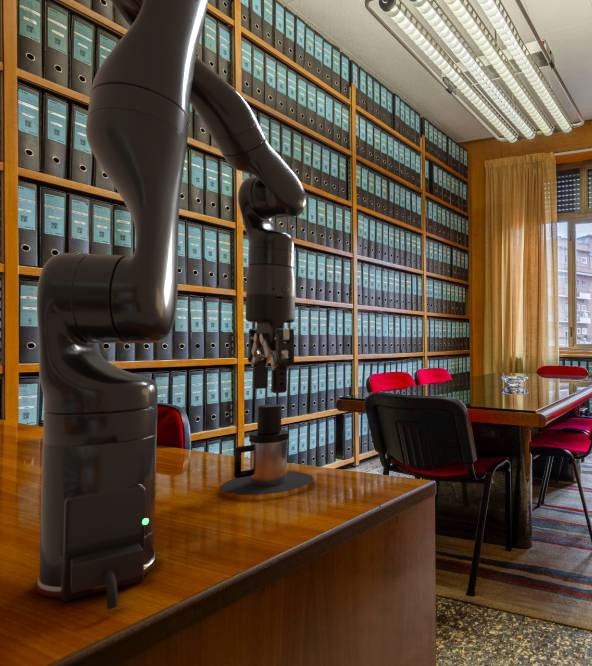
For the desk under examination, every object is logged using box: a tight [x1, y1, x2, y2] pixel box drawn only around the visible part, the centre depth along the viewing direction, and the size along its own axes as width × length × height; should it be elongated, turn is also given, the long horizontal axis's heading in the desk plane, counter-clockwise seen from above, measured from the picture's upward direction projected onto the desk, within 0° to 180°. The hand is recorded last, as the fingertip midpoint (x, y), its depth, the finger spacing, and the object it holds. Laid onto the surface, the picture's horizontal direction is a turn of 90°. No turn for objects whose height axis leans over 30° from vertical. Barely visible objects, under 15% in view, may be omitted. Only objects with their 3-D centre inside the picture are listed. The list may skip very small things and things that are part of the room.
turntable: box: [220, 470, 314, 496], centre depth 83 cm, size 14×14×1 cm
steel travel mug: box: [233, 403, 290, 487], centre depth 82 cm, size 8×6×13 cm
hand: (269, 390), depth 83 cm, fingers open, 8 cm apart
